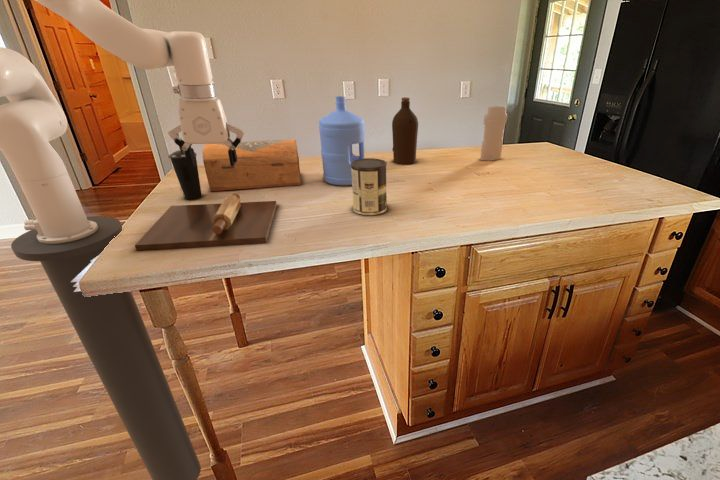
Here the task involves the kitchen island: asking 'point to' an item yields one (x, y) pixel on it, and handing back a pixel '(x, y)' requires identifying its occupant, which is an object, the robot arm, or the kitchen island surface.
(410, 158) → the olive oil
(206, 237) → the pastry board
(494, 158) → the tall pale column
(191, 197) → the drinking cup
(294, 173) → the wooden box
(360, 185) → the coffee can
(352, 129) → the water jug
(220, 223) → the rolling pin
